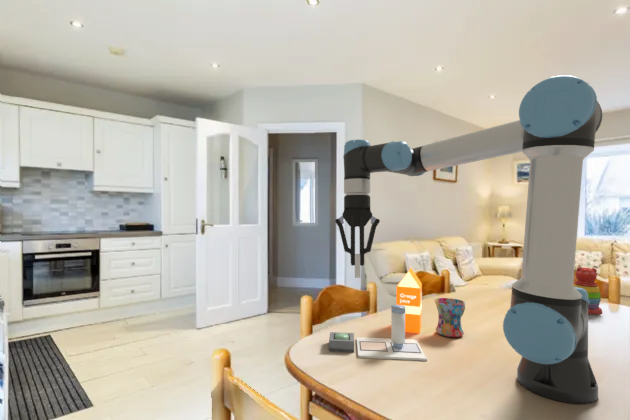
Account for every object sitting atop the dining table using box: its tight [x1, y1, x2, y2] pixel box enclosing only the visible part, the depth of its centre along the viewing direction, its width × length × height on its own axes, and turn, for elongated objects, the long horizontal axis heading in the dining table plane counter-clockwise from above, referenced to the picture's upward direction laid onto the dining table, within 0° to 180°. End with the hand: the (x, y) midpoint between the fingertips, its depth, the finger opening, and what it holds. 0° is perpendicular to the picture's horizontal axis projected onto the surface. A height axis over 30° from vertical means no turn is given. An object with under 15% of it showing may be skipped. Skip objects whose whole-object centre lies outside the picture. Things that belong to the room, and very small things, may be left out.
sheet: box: [356, 336, 428, 362], centre depth 102 cm, size 14×18×1 cm
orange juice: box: [395, 267, 423, 334], centre depth 121 cm, size 8×9×20 cm
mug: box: [434, 297, 466, 338], centre depth 116 cm, size 12×9×11 cm
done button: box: [335, 332, 349, 340], centre depth 103 cm, size 4×4×2 cm
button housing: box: [328, 331, 355, 353], centre depth 103 cm, size 7×7×3 cm
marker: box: [390, 304, 406, 349], centre depth 102 cm, size 4×4×12 cm
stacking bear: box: [573, 266, 603, 315], centre depth 144 cm, size 11×10×18 cm
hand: (357, 276), depth 103 cm, fingers closed
